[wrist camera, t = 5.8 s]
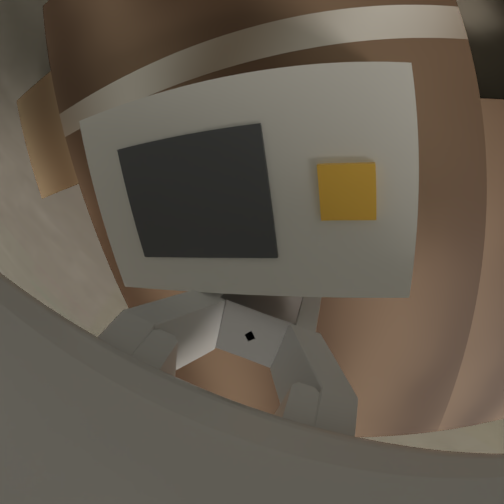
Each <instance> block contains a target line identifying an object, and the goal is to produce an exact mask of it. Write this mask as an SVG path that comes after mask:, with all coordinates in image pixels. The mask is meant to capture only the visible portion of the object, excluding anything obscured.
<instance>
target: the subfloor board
mask: <svg viewBox="0 0 504 504" xmlns="http://www.w3.org/2000/svg"><path fill="white" fill-rule="evenodd" d="M43 16H44V26H45V35H46V43H47V50H48V57H49V63H50V69H51V71H50V72H49V73H48V74H46V75H45V76H44V77H43V78H42V79H40V80H39V81H38V82H37V83H36V84H35V85H34V86H32V87H31V88H30V89H29V90H28V91H27V92H26V93H25V94H23V95H22V96H21V97H20V98H19V99H18V100H17V106H18V111H19V116H20V121H21V125H22V130H23V134H24V138H25V142H26V146H27V150H28V154H29V158H30V161H31V165H32V168H33V172H34V175H35V178H36V181H37V185H38V188H39V191H40V194H41V197H42V199H43V198H45V197H47V196H50V195H52V194H55V193H57V192H59V191H62V190H64V189H67V188H69V187H72V186H74V185H77V184H79V186H80V189H81V192H82V195H83V198H84V200H85V203H86V206H87V209H88V212H89V215H90V217H91V220H92V223H93V225H94V228H95V231H96V233H97V236H98V239H99V241H100V244H101V246H102V249H103V251H104V253H105V256H106V258H107V261H108V263H109V265H110V268H111V270H112V272H113V275H114V277H115V279H116V282H117V284H118V286H119V288H120V290H121V293H122V295H123V297H124V299H125V301H126V303H127V305H128V307H129V308H132V307H136V306H139V305H143V304H146V303H150V302H153V301H157V300H160V299H164V298H167V297H171V296H174V295H177V294H181V293H184V292H188V291H175V290H161V289H148V288H135V287H125V285H124V282H123V280H122V277H121V274H120V271H119V269H118V266H117V263H116V260H115V257H114V254H113V251H112V248H111V245H110V242H109V239H108V235H107V232H106V229H105V226H104V222H103V219H102V216H101V212H100V209H99V205H98V201H97V198H96V194H95V190H94V186H93V183H92V179H91V175H90V170H89V166H88V162H87V158H86V153H85V148H84V144H83V139H82V134H81V129H80V123H79V121H80V120H83V119H85V118H88V117H90V116H93V115H95V114H98V113H101V112H103V111H106V110H109V109H111V108H114V107H117V106H120V105H123V104H125V103H128V102H131V101H134V100H137V99H141V98H144V97H147V96H150V95H154V94H157V93H160V92H164V91H167V90H171V89H175V88H178V87H182V86H186V85H190V84H194V83H198V82H203V81H207V80H212V79H216V78H221V77H226V76H231V75H236V74H242V73H248V72H254V71H260V70H267V69H274V68H282V67H290V66H299V65H310V64H322V63H339V62H409V63H411V64H412V71H413V79H414V88H415V98H416V110H417V125H418V148H419V194H418V218H417V233H416V245H415V256H414V265H413V274H412V281H411V289H410V296H409V298H340V297H322V298H321V304H320V310H319V316H318V322H317V327H316V332H317V333H320V334H321V335H322V337H323V339H324V340H325V342H326V344H327V346H328V347H329V349H330V351H331V352H332V354H333V356H334V358H335V359H336V361H337V363H338V364H339V366H340V368H341V370H342V371H343V373H344V375H345V376H346V378H347V380H348V382H349V383H350V385H351V387H352V389H353V390H354V392H355V394H356V396H357V397H358V406H357V418H356V429H355V437H379V436H395V435H408V434H418V433H427V432H435V431H442V430H449V429H455V428H461V427H466V426H472V425H477V424H482V423H486V422H491V421H495V420H499V419H503V418H504V99H493V98H480V94H479V88H478V82H477V77H476V72H475V67H474V62H473V58H472V53H471V49H470V45H469V41H468V37H467V33H466V30H465V26H464V23H463V20H462V17H461V13H460V10H459V7H458V5H457V2H456V0H49V1H48V2H47V3H46V4H45V5H43ZM175 377H177V378H179V379H181V380H184V381H186V382H188V383H191V384H193V385H195V386H198V387H200V388H202V389H205V390H207V391H210V392H212V393H215V394H217V395H220V396H222V397H225V398H228V399H230V400H233V401H236V402H238V403H241V404H244V405H247V406H249V407H252V408H255V409H258V410H261V411H264V412H267V413H270V414H273V415H274V414H275V412H276V411H277V409H278V407H279V406H280V401H279V398H278V395H277V391H276V388H275V384H274V381H273V378H272V374H271V371H270V368H269V367H266V366H264V365H261V364H258V363H256V362H253V361H251V360H248V359H246V358H243V357H240V356H237V355H234V354H232V353H229V352H226V351H223V350H220V349H218V348H215V349H214V350H212V351H211V352H209V353H207V354H205V355H203V356H202V357H200V358H198V359H196V360H194V361H192V362H190V363H189V364H187V365H185V366H183V367H181V368H179V369H177V370H176V373H175Z"/></svg>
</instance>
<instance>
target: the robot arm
mask: <svg viewBox="0 0 504 504" xmlns="http://www.w3.org/2000/svg"><path fill="white" fill-rule="evenodd" d="M321 298H322V297H296V296H267V295H244V294H224V293H206V292H198V291H195V290H191V291H188V292H184V293H181V294H177V295H174V296H171V297H167V298H164V299H160V300H157V301H153V302H150V303H146V304H143V305H139V306H136V307H132V308H129V309H125V310H123V311H122V312H121V313H120V314H119V315H118V316H117V317H116V318H115V319H114V320H113V321H112V323H111V324H110V325H109V326H108V327H107V328H106V329H105V330H104V331H103V332H102V333H101V334H100V335H99V336H98V337H96V336H94V335H93V334H91V333H89V332H88V331H86V330H84V329H82V328H81V327H79V326H77V325H76V324H74V323H73V322H71V321H69V320H68V319H66V318H64V317H63V316H61V315H60V314H58V313H57V312H55V311H54V310H52V309H50V308H49V307H47V306H46V305H44V304H43V303H41V302H40V301H39V300H37V299H36V298H34V297H33V296H31V295H30V294H28V293H27V292H26V291H24V290H23V289H21V288H20V287H19V286H17V285H16V284H15V283H13V282H12V281H11V280H9V279H8V278H7V277H5V276H4V275H3V274H1V273H0V504H504V454H486V453H465V452H451V451H441V450H431V449H423V448H416V447H409V446H402V445H396V444H390V443H384V442H379V441H373V440H368V439H364V438H359V437H355V429H356V418H357V406H358V397H357V396H356V394H355V392H354V390H353V389H352V387H351V385H350V383H349V382H348V380H347V378H346V376H345V375H344V373H343V371H342V370H341V368H340V366H339V364H338V363H337V361H336V359H335V358H334V356H333V354H332V352H331V351H330V349H329V347H328V346H327V344H326V342H325V340H324V339H323V337H322V335H321V334H320V333H317V332H316V327H317V322H318V316H319V310H320V304H321ZM215 348H218V349H220V350H223V351H226V352H229V353H232V354H234V355H237V356H240V357H243V358H246V359H248V360H251V361H253V362H256V363H258V364H261V365H264V366H266V367H269V368H270V371H271V374H272V378H273V381H274V384H275V388H276V391H277V395H278V398H279V401H280V406H279V407H278V409H277V411H276V412H275V414H274V415H273V414H270V413H267V412H264V411H261V410H258V409H255V408H252V407H249V406H247V405H244V404H241V403H238V402H236V401H233V400H230V399H228V398H225V397H222V396H220V395H217V394H215V393H212V392H210V391H207V390H205V389H202V388H200V387H198V386H195V385H193V384H191V383H188V382H186V381H184V380H181V379H179V378H177V377H175V373H176V370H177V369H179V368H181V367H183V366H185V365H187V364H189V363H190V362H192V361H194V360H196V359H198V358H200V357H202V356H203V355H205V354H207V353H209V352H211V351H212V350H214V349H215Z"/></svg>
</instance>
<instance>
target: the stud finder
mask: <svg viewBox="0 0 504 504" xmlns="http://www.w3.org/2000/svg"><path fill="white" fill-rule="evenodd" d="M79 123H80V129H81V134H82V139H83V144H84V148H85V153H86V158H87V162H88V166H89V170H90V175H91V179H92V183H93V186H94V190H95V194H96V198H97V201H98V205H99V209H100V212H101V216H102V219H103V222H104V226H105V229H106V232H107V235H108V239H109V242H110V245H111V248H112V251H113V254H114V257H115V260H116V263H117V266H118V269H119V271H120V274H121V277H122V280H123V282H124V285H125V287H135V288H148V289H161V290H175V291H191V290H195V291H198V292H206V293H224V294H244V295H267V296H296V297H340V298H409V296H410V289H411V281H412V274H413V265H414V256H415V245H416V233H417V218H418V194H419V148H418V125H417V110H416V98H415V88H414V79H413V71H412V64H411V63H409V62H339V63H322V64H310V65H299V66H290V67H282V68H274V69H267V70H260V71H254V72H248V73H242V74H236V75H231V76H226V77H221V78H216V79H212V80H207V81H203V82H198V83H194V84H190V85H186V86H182V87H178V88H175V89H171V90H167V91H164V92H160V93H157V94H154V95H150V96H147V97H144V98H141V99H137V100H134V101H131V102H128V103H125V104H123V105H120V106H117V107H114V108H111V109H109V110H106V111H103V112H101V113H98V114H95V115H93V116H90V117H88V118H85V119H83V120H80V121H79Z"/></svg>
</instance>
